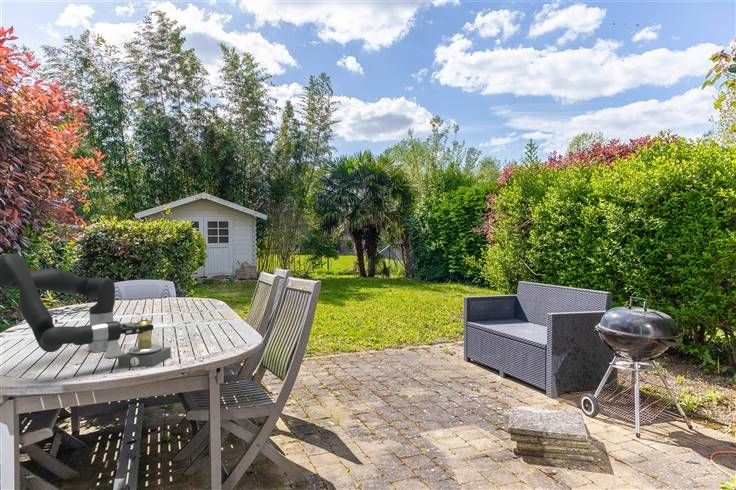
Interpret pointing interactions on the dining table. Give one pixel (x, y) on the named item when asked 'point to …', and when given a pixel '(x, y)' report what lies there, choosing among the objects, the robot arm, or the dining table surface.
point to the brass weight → (144, 335)
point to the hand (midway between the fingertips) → (149, 325)
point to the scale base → (144, 358)
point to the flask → (113, 350)
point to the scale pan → (143, 351)
